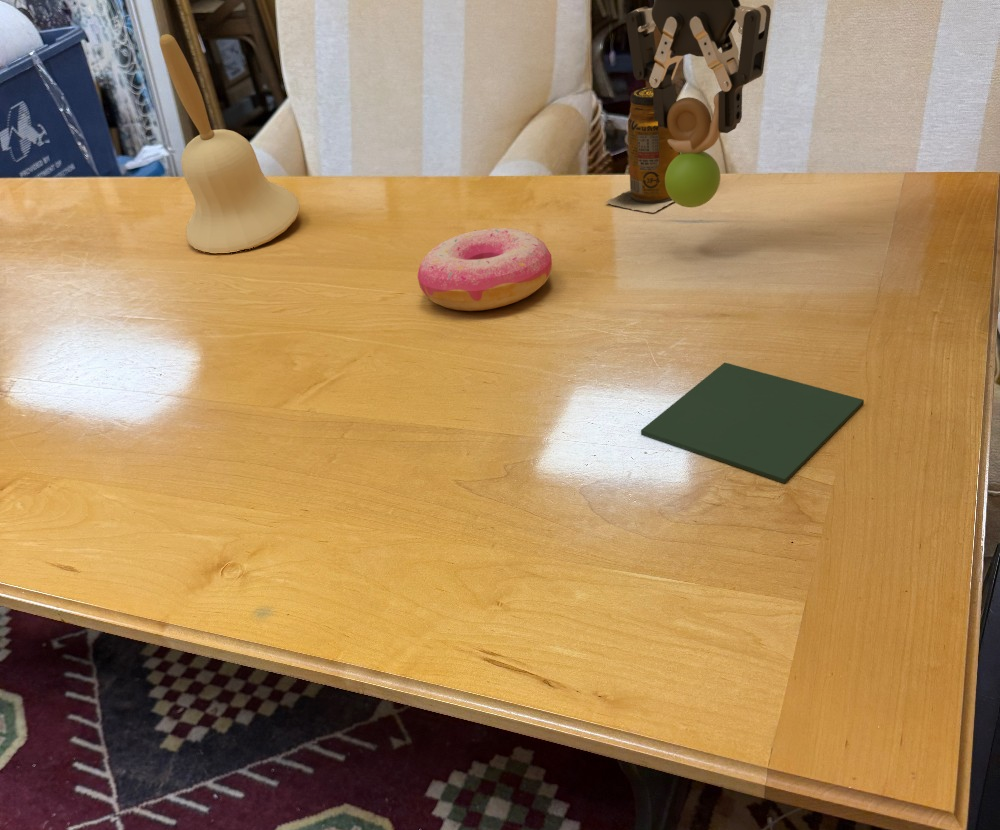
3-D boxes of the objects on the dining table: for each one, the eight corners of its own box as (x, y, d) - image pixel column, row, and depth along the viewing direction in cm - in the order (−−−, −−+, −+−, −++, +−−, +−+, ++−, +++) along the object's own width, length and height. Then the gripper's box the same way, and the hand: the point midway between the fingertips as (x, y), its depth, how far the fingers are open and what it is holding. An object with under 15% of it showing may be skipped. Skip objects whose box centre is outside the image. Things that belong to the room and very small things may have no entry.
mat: (724, 366, 76) (724, 362, 76) (863, 404, 69) (864, 399, 69) (640, 434, 70) (640, 429, 69) (784, 483, 62) (785, 479, 62)
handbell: (320, 197, 123) (251, 0, 104) (279, 263, 113) (195, 58, 95) (220, 202, 127) (137, 13, 109) (172, 266, 117) (72, 70, 99)
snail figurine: (718, 217, 89) (717, 87, 82) (657, 213, 92) (651, 88, 85) (737, 198, 92) (738, 71, 85) (678, 195, 95) (674, 72, 88)
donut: (577, 273, 95) (573, 226, 92) (507, 329, 87) (500, 280, 84) (474, 258, 102) (467, 215, 99) (399, 309, 94) (389, 263, 91)
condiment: (696, 190, 110) (696, 85, 103) (653, 214, 106) (650, 105, 99) (647, 182, 115) (644, 81, 107) (604, 205, 110) (598, 100, 103)
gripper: (793, -88, 75) (784, 122, 85) (649, -77, 84) (656, 112, 94) (746, -72, 71) (742, 146, 81) (600, -62, 80) (613, 134, 90)
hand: (696, 127), depth 88 cm, fingers closed on snail figurine, 6 cm apart
